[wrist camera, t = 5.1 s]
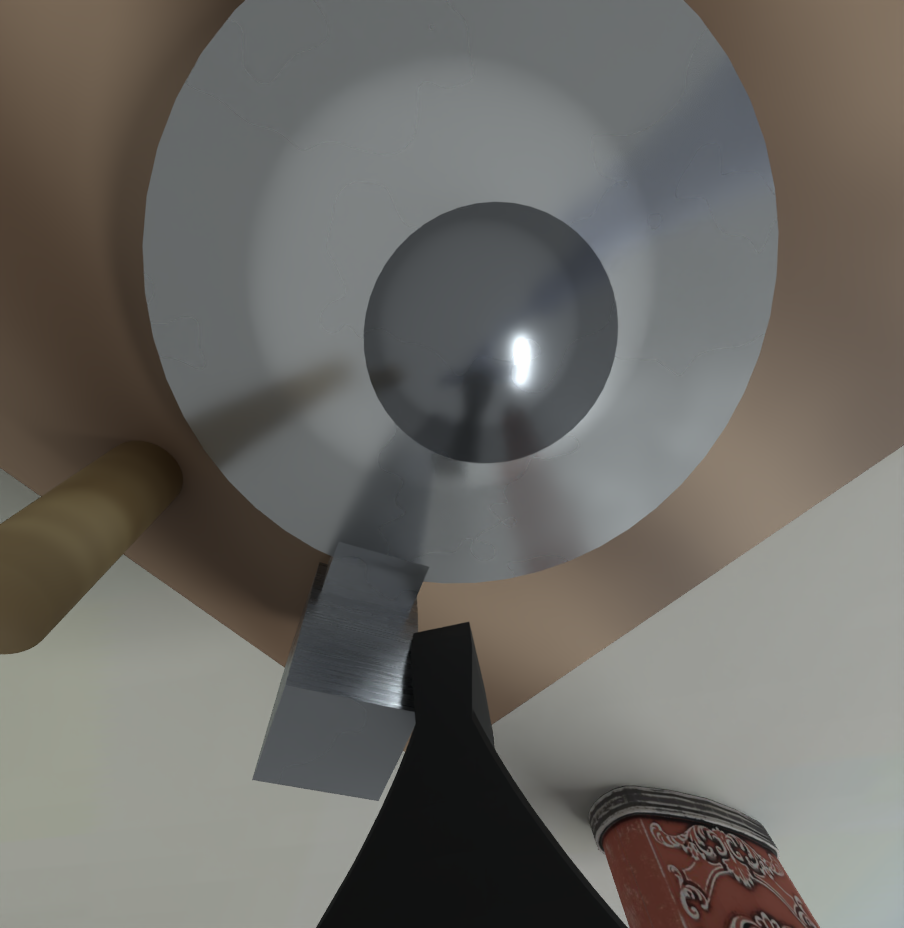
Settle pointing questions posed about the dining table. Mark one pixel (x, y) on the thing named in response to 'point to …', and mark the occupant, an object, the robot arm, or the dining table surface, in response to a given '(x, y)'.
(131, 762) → the dining table surface
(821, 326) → the walnut board
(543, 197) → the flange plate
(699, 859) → the lighter
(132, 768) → the dining table surface
